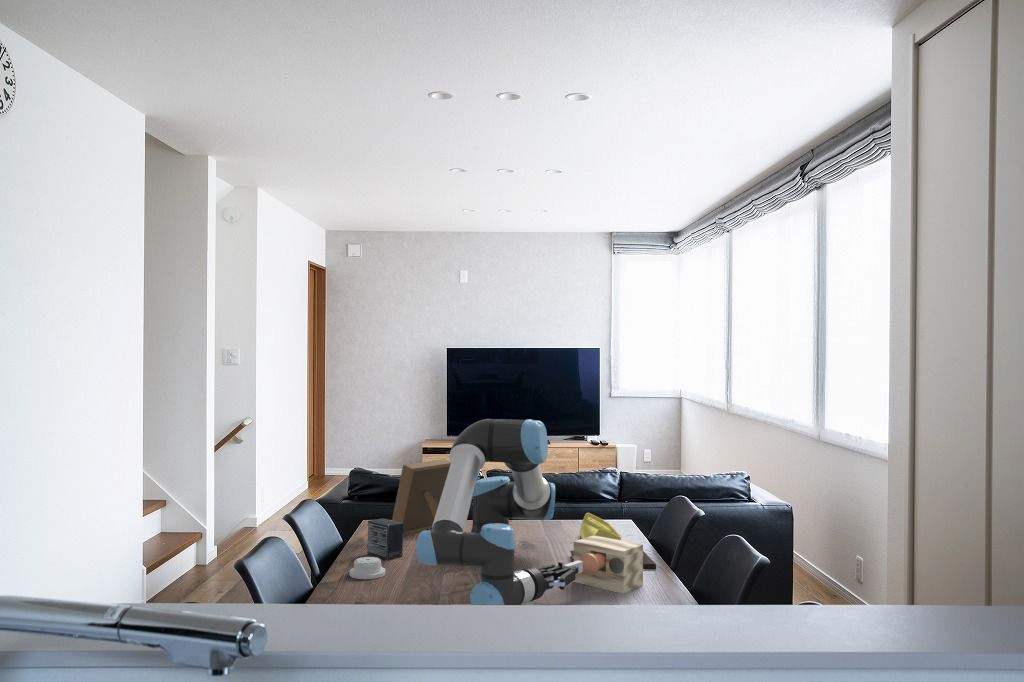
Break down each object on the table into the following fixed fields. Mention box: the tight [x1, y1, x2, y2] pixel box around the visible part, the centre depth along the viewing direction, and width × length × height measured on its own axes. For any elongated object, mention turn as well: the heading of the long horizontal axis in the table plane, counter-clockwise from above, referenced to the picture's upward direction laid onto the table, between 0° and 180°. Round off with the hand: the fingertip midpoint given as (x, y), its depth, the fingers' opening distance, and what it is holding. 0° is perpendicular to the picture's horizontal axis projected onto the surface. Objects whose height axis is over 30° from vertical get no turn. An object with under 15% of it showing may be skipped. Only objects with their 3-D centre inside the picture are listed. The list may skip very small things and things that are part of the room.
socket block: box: [572, 535, 644, 595], centre depth 201 cm, size 11×16×11 cm
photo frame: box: [391, 458, 451, 537], centre depth 259 cm, size 15×22×25 cm
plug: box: [579, 552, 606, 576], centre depth 198 cm, size 12×6×6 cm, turn 140°
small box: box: [366, 517, 404, 560], centre depth 228 cm, size 11×6×10 cm, turn 47°
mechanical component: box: [349, 556, 386, 580], centre depth 207 cm, size 10×4×10 cm
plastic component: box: [579, 512, 623, 541], centre depth 253 cm, size 20×7×10 cm
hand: (580, 566), depth 191 cm, fingers closed
